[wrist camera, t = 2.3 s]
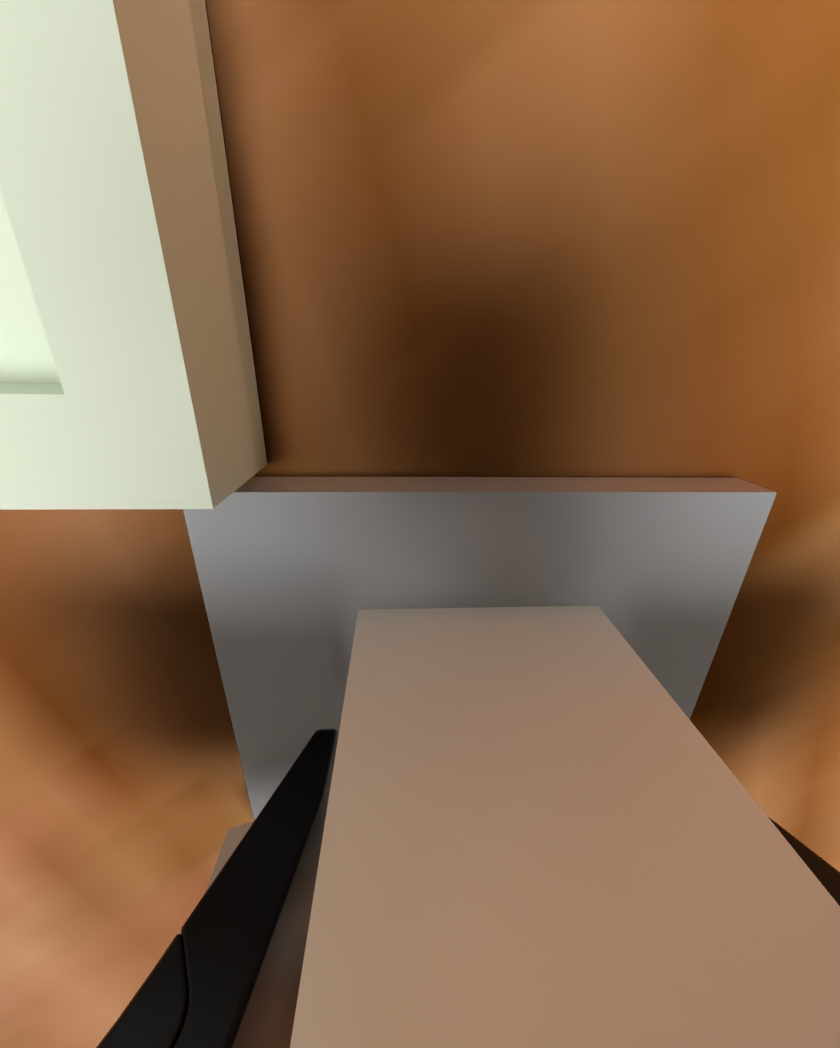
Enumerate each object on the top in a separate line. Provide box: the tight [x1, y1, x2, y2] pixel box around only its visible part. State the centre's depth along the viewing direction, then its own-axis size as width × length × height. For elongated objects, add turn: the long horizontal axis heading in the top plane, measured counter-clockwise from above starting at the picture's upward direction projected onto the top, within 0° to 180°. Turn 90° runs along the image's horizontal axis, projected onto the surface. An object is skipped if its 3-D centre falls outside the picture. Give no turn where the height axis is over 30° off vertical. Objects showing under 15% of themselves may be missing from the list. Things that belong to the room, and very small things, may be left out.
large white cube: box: [290, 606, 840, 1048], centre depth 6 cm, size 5×5×6 cm
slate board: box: [183, 476, 777, 891], centre depth 9 cm, size 13×12×3 cm
